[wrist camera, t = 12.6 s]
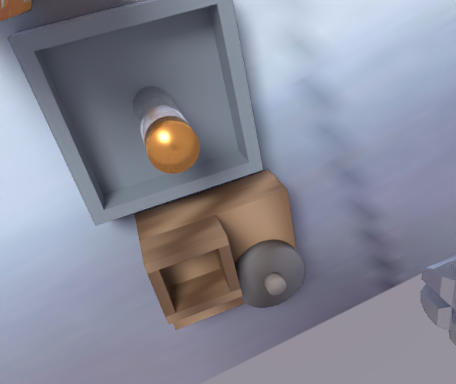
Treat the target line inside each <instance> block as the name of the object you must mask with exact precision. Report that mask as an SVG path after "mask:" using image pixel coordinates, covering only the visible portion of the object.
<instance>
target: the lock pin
mask: <svg viewBox="0 0 456 384" xmlns="http://www.w3.org/2000/svg"><path fill="white" fill-rule="evenodd" d="M133 111H134V114H135V117H136V120H137V123H138V126H139V129H140V133H141V136H142V139H143V142H144V145H145V148H146V151H147V154H148V157H149V160H150V162H151V163H152V164H153V166H154V167H155V168H157V169H158V170H160V171H161V172H164V173H168V174H176V173H181V172H184V171H186V170H187V169H189V168H190V167H191V166H192V165H193V164H194V163H195V162H196V160H197V158H198V156H199V152H200V143H199V139H198V137H197V135H196V134H195V132H194V131H193V130H192V128H191V127H190V125H189V124H188V122H187V121H186V119H185V118H184V117H183V115H182V114H181V112H180V111H179V109H178V108H177V106H176V105H175V104H174V102H173V101H172V99H171V98H170V96H169V95H168V93H167V92H166V91H165V90H163V89H162V88H160V87H156V86H148V87H144V88H142V89H141V90H139V91H138V92H137V94H136V95H135V97H134V99H133Z"/></svg>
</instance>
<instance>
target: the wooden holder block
mask: <svg viewBox="0 0 456 384" xmlns="http://www.w3.org/2000/svg"><path fill="white" fill-rule="evenodd" d="M135 218H136V224H137V229H138V235H139V240H140V246H141V252H142V257H143V263H144V267H145V269H146V271H147V274H148V276H149V279H150V281H151V283H152V286H153V288H154V291H155V293H156V296H157V298H158V300H159V303H160V305H161V308H162V310H163V312H164V315H165V317H166V320H167V322H168V324H171V323H173V324H174V327H175V329H176V330H177V329H180V328H182V327H185V326H187V325H190V324H193V323H195V322H198V321H200V320H203V319H205V318H208V317H211V316H213V315H216V314H218V313H221V312H224V311H226V310H229V309H231V308H234V307H237V306H239V305H242V304H244V303H247V304H249V305H251V306H254V307H259V308H266V307H271V306H275V305H278V304H280V303H282V302H284V301H286V300H287V299H289V298H290V297H291V296H292V295H293V294H294V293H295V292H296V291H297V290H298V289H299V287H300V286H301V284H302V282H303V280H304V277H305V264H304V262H303V260H302V258H301V257H300V256H299V254H298V253H297V250H296V244H295V237H294V230H293V223H292V217H291V210H290V203H289V197H288V190H287V189H286V188H285V187H284V186H283V184H282V183H281V182H280V181H279V180H278V179H277V178H276V177H275V176H274V175H273V174H272V173H271V172H270V171H269V170H266V171H263V172H260V173H257V174H254V175H251V176H248V177H245V178H242V179H239V180H236V181H233V182H230V183H227V184H224V185H221V186H218V187H215V188H212V189H209V190H206V191H203V192H200V193H197V194H194V195H191V196H188V197H185V198H182V199H179V200H176V201H173V202H170V203H167V204H164V205H161V206H158V207H155V208H152V209H149V210H146V211H143V212H140V213H137V214H135Z"/></svg>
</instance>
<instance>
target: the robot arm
mask: <svg viewBox="0 0 456 384" xmlns="http://www.w3.org/2000/svg"><path fill="white" fill-rule="evenodd" d="M422 280H423V281H424V282H425V283H426V285H425V286H424V287H423V289H422V290H421V303H422V305H423V308H424V311H425V312H426V314H427V315H428V317H429V318H430V319H431V320H432V321H433V322H434V323H435V325H437V326H438V327H441V328H444V329H447V330H449V335H450V340H451V341H452V342H453V343H454V344H455V345H456V255H455V256H452V257H450V258H448V259H445V260H443V261H440V262H438V263H435V264H433V265H431V266H428V267H426V268H425V269H424V270H423V271H422Z"/></svg>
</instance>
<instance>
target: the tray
mask: <svg viewBox="0 0 456 384" xmlns="http://www.w3.org/2000/svg"><path fill="white" fill-rule="evenodd" d="M8 40H9V42H10V44H11V46H12V48H13V50H14V53H15V55H16V57H17V59H18V61H19V63H20V65H21V68H22V70H23V72H24V74H25V76H26V78H27V80H28V83H29V85H30V87H31V89H32V91H33V93H34V95H35V98H36V100H37V102H38V104H39V106H40V108H41V110H42V113H43V115H44V117H45V119H46V121H47V123H48V125H49V127H50V130H51V132H52V134H53V136H54V138H55V140H56V142H57V145H58V147H59V149H60V151H61V153H62V155H63V157H64V160H65V162H66V164H67V166H68V168H69V170H70V172H71V175H72V177H73V179H74V181H75V183H76V185H77V187H78V190H79V192H80V194H81V196H82V198H83V200H84V202H85V205H86V207H87V209H88V211H89V213H90V215H91V217H92V220H93V222H94V224H95V226H96V225H99V224H102V223H105V222H108V221H111V220H114V219H117V218H120V217H123V216H126V215H129V214H132V213H135V212H138V211H141V210H144V209H147V208H150V207H153V206H156V205H159V204H162V203H165V202H168V201H171V200H174V199H177V198H180V197H183V196H186V195H189V194H192V193H195V192H198V191H201V190H204V189H207V188H210V187H213V186H216V185H219V184H222V183H225V182H228V181H231V180H234V179H237V178H240V177H243V176H246V175H249V174H252V173H255V172H258V171H261V170H263V166H262V161H261V155H260V150H259V144H258V139H257V133H256V128H255V122H254V116H253V111H252V105H251V100H250V94H249V89H248V83H247V78H246V72H245V67H244V61H243V56H242V50H241V45H240V39H239V34H238V28H237V22H236V17H235V11H234V6H233V0H142V1H138V2H134V3H131V4H127V5H123V6H119V7H115V8H111V9H107V10H103V11H99V12H95V13H91V14H87V15H83V16H79V17H75V18H71V19H67V20H63V21H59V22H55V23H51V24H47V25H43V26H39V27H35V28H31V29H27V30H23V31H19V32H16V33H15V34H13V35H12V36H10V37H9V38H8ZM148 86H156V87H160V88H162V89H163V90H165V91H166V92H167V93H168V95H169V96H170V98H171V99H172V101H173V102H174V104H175V105H176V106H177V108H178V109H179V111H180V112H181V114H182V115H183V117H184V118H185V119H186V121H187V122H188V124H189V125H190V127H191V128H192V130H193V131H194V132H195V134H196V135H197V137H198V139H199V143H200V152H199V156H198V158H197V160H196V162H195V163H194V164H193V165H192V166H191V167H190V168H189V169H187V170H186V171H184V172H181V173H176V174H168V173H164V172H161V171H160V170H158V169H157V168H155V167H154V166H153V164H152V163H151V162H150V160H149V157H148V154H147V151H146V148H145V145H144V142H143V139H142V136H141V133H140V129H139V126H138V123H137V120H136V117H135V114H134V111H133V99H134V97H135V95H136V94H137V92H138V91H139V90H141V89H142V88H144V87H148Z"/></svg>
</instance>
